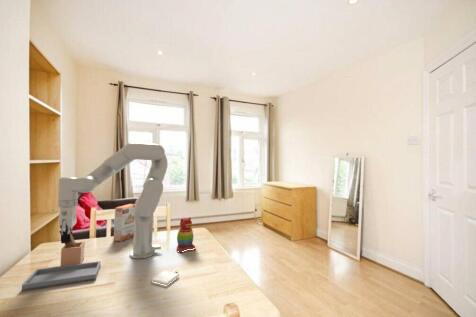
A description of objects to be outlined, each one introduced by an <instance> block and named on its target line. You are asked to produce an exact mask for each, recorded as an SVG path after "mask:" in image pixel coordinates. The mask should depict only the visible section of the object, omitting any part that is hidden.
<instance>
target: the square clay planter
mask: <svg viewBox="0 0 476 317" xmlns="http://www.w3.org/2000/svg"><path fill="white" fill-rule="evenodd" d="M75 243H76V245H77V247H72V248H66V246H65V244H64V245H63V247H62V248H61V250H60V251H61V252H60V266H66V265H73V264H81V263H84V261H85V243H86V242H85V241H77V242H76V241H75Z"/></svg>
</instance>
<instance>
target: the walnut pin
mask: <svg viewBox="0 0 476 317" xmlns="http://www.w3.org/2000/svg"><path fill="white" fill-rule="evenodd" d="M61 230H62V229H60V230H59V234H60V236H61V235H62V232H61ZM66 230H67V231H68V229H66ZM69 234H70V242H69V243H64V245H65V246H66V248H72V247H77V245H76V243H75V242H76V241H75V238H74V236H73V233H72V234H71V231H70V230H69Z"/></svg>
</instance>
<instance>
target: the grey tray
mask: <svg viewBox="0 0 476 317" xmlns="http://www.w3.org/2000/svg"><path fill="white" fill-rule="evenodd" d="M101 262H102V261H101V260H99V261H97V260H96V261H91V262H90V261H89V262H82V263H81V264H73V265H66V266H61V265H59V266H58V265H57V266H51V267H43V268H37V269H35V270H34V271H33V272H32V274H30V275H29V277H27V279H25V281H24V282H23V283H22V284H21V292H27V291H28V292H29V291H33V290H41V289H46V288H53V287H59V286H66V285H73V284H78V283H85V282H90V281H92V282H93V281H96V280H97V277H98V274H99V272H100V270H101Z"/></svg>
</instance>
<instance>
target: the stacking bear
mask: <svg viewBox="0 0 476 317" xmlns="http://www.w3.org/2000/svg"><path fill="white" fill-rule="evenodd" d="M179 225H180V228H179V230H178V232H177V235H176V240H177V246H176V252H177V251H179V252H182V251H184V250H187V249H193V248H195V247H196V245H194V244H193V242H194V231H193V227H192V225H193V222H192V219H191V217H185V218H181V219H180V222H179ZM179 252H178V253H179Z"/></svg>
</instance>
